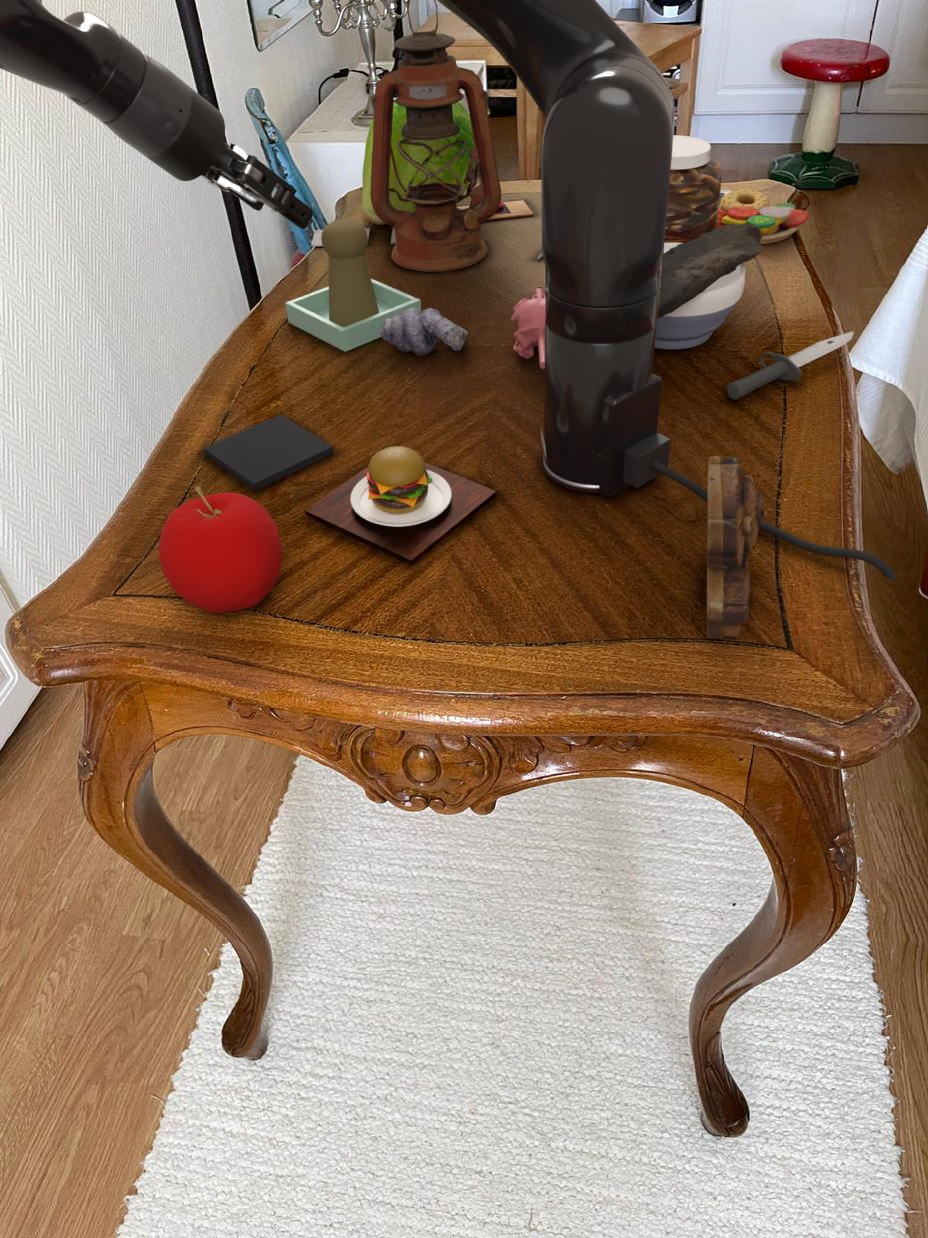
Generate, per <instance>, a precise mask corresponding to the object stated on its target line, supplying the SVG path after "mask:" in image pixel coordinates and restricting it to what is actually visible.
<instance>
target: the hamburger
mask: <svg viewBox="0 0 928 1238" xmlns="http://www.w3.org/2000/svg"><path fill="white" fill-rule="evenodd" d="M495 497H497V491H496V490H494V489H492V488H489V487H488V486H485V485H482V484H479V483H478V482H474V481H473V480H470V479H468V478H465V477H463V476H460V475H458V474H455V473H453V472H450V471H448V470H445V469H443V468H440V467H438V466H435V465H434V464H430V463H429V462H426V461H425V460H424V458H423V456H421V454H420V453H419V452H418V451H416V450H415V449H413V448H410V447H407V446H403V445H394V446H388V447H385V448H383V449H381V450H379V451H378V452H376V453H375V454H374V455H373V456H372V457H371V459H370V461H369V463H368V466H367V467H365V468H364V469H362V470H361V471H360V472H358V473H357V474H355V475H353V477H351V478H350V479H348V480H347V481H345V482H344V483H342V484H341V485H339V486H338V487H337V488H335V489H333V490H332V491H331V492H330V493H328V494H327V495H325V496H323V497H322V498H320V499H319V500H318V501H317V502H315V503H314V504H312V505H311V506H309V507H308V508H307V509H305V510H304V512H305V516H307V517H309V518H312V519H313V520H316V521H318V522H320V523H322V524H324V525H327V526H328V527H330V528H332V529H335V530H337V531H339V532H341V533H343V534H346V535H347V536H349V537H351V538H354V539H356V540H358V541H360V542H362V543H365V544H366V545H369V546H371V547H373V548H375V549H377V550H379V551H381V552H383V553H386V554H387V555H389V556H392V557H394V558H396V559H399V560H400V561H403V562H404V563H407V564H408V565H411V566H413V564H415V563H416V562H417V561H418V560H420V559H421V558H422V557H423V556H424V555H426V554H427V553H428V552H429V551H431V550H432V549H433V548H434V547H436V545H438V544H439V543H440V542H442V541H443V540H444V539H445V538H447V537H448V536H449V535H450V534H451V533H453V532H454V531H455V530H456V529H457V528H459V526H461V525H462V524H464V523H465V522H466V521H467V520H468V519H469V518H471V517H472V516H473V515H475V514H476V513H477V512H478V511H479V510H481V509H482V508H483V507H484V506H485V505H487V504H488V503H489V502H490V501H491V500H493V499H494V498H495Z"/></svg>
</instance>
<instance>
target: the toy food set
mask: <svg viewBox="0 0 928 1238" xmlns="http://www.w3.org/2000/svg"><path fill="white" fill-rule="evenodd" d="M808 219H809V213H808V212H807V211H806V210H803V209H796V206H795V204H794V203H791V202H779V203H777V204H774V205H772V206H770V200H769V198H768V197H767V196H766V195H765V194H764V193H762V192H760V191H757V190H754V189H747V188H740V189H734V190H731V192H729V193H727V194H726V195H724V196H723V197H722V199H721V202H720V209H719V210H718V219H717V228H718V227H721V226H724V225H728V224H750V225H754V226H757V227H758V228H759V230H760V234H761V237H762V238H761V240H760V243H761V244H762V245H766V244H773V243H777V242H781V241H784V240H786V239H789V237H791V236H792V235H793V234H794V233H796V232H797V231H798V230H799V229H800V227H801V225H803V224H805V223H806V222H807V221H808ZM717 228H716V229H717Z"/></svg>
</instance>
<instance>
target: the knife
mask: <svg viewBox="0 0 928 1238" xmlns="http://www.w3.org/2000/svg"><path fill="white" fill-rule="evenodd" d="M854 333H855V331H849V332H847V333H843V334H839V335H837V336H834V337H830V338H827V339H824V340H821V341H817V342H815V343H814V344H812V345H810V346H808V347H807V348H806V347H805V348H804V349H802V350H800V351H797V352H796V353H793V354H792V355H789V356H785V355H784V354H781V353H773V352H772V351H765V352H763V353H761V356H760V364H761V366H762V368H761V369H760V370H758V371H755V372H753V373H752V374H749V375H747V376H745V377H742V378H739V379H736V380H735V381H732V382H730V383H729V384H728V385H727V389H726V393H727V395H728V397H729V398H730V399H732V400H734V401H735V400H738V399H741V398H743V397H745V396H747V395H748V394H749V393H751V392H754V391H756V390H757V389H760V388H761V387H764V386H765V385H768V384H770V383H771V382H774V381H776V380H778V379H780V380H781V381H795V382H798V381H800V380H801V377H802V376H801V375H802V370H801V369H800V367H803V366H804V365H806V364H808V363H810V362H813V361H814V360H816V359H818V358H821V357H823V356H825V355H827V354H829V353H831V352H833V351H835V350H837V349H839V348H841V347H842V346H844V345H846V344H847V343H849V342H850V341H851V340H852V339H853V337H854ZM765 355H770V356H771V358H772V359H773V363H772V364H771V365H767V364H765V363H766V362H765V359H764V358H765Z"/></svg>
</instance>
